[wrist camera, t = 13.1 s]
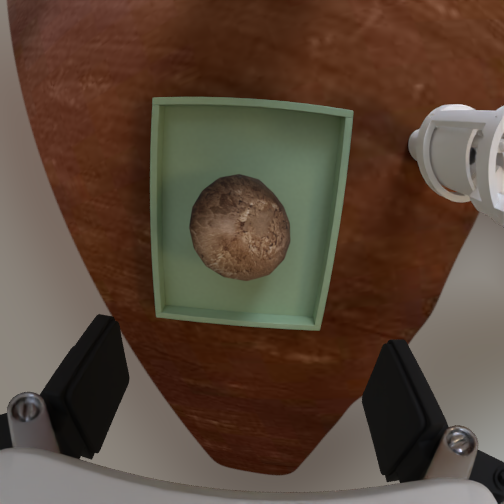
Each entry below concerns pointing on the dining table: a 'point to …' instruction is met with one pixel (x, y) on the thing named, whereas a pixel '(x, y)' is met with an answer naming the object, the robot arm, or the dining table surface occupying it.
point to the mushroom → (239, 228)
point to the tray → (274, 177)
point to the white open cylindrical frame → (463, 156)
